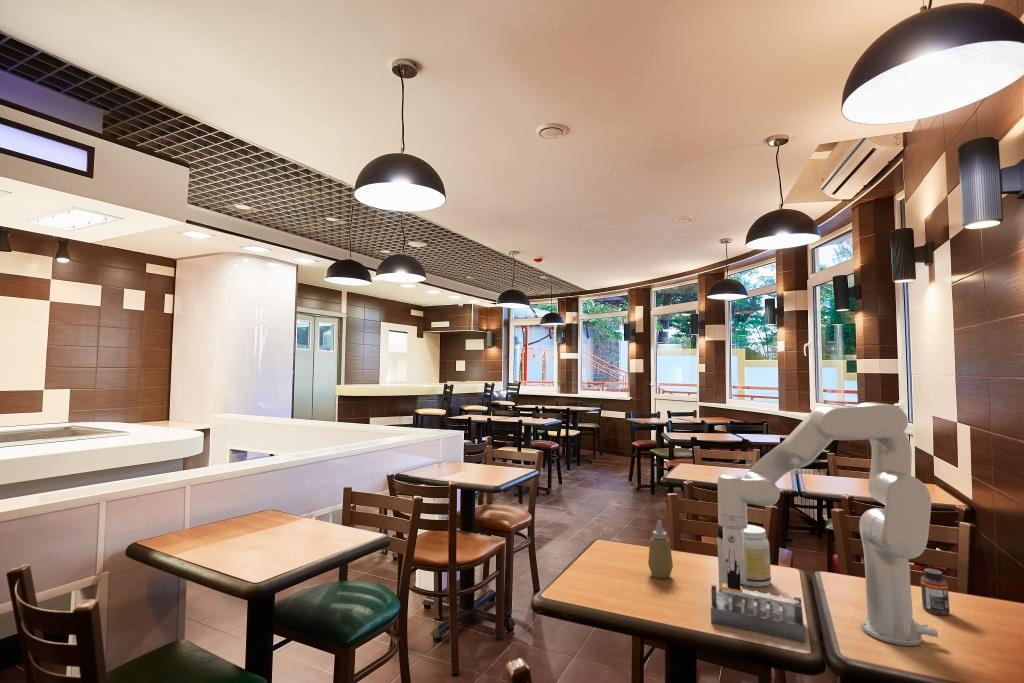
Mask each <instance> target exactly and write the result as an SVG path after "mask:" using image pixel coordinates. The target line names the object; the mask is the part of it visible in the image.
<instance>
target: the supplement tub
mask: <svg viewBox="0 0 1024 683" xmlns="http://www.w3.org/2000/svg"><path fill="white" fill-rule="evenodd" d="M744 542H745V562H744V565H743V566H742V567H741V565H740V581H741V585H744V586H746V587H747V586H748V587H755V588H761V587H767V586H768V585H770V584H771V581H772V575H771V574H772V573H771V556H770V554H771V553H770V541H769V540H768V538H767V534H766V529H765V528H763V527H762V526H758V525H754V524H748V523H747V528H745V529H744Z"/></svg>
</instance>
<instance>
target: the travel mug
mask: <svg viewBox="0 0 1024 683" xmlns="http://www.w3.org/2000/svg"><path fill="white" fill-rule="evenodd" d="M716 532H717V565H718V566H717V567H718V568H717V569H718V592H722V584H723V583H726V584H728V582H727V572H728V563H727V564H726V563H725V562H724V551H723V526H719V527H717V530H716ZM739 573H740V565H739ZM740 585H742V584H741V581H740ZM722 593H725V592H722ZM727 594H730V593H727ZM738 596H739V595H738Z"/></svg>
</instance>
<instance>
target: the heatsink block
mask: <svg viewBox="0 0 1024 683" xmlns="http://www.w3.org/2000/svg"><path fill="white" fill-rule="evenodd" d="M742 589H745V590H748V589H747V588H744V587H742ZM754 591H755V592H759V590H754ZM710 593H711V595H710V596H711V606H710V623H711V624H715V625H719V626H725V627H728V628H732V629H736V630H737V629H738V630H742V631H746V632H752V633H756V634H761V635H766V636H771V637H774V638H779V639H784V640H788V641H794V642H798V643H802V644H805V643H806V642H805V625H804V614H803V606H802V598H801V597H796V596H794V597H793V599H794V600H797V599H798V600H800V604H801V605H796V604H795V607H792V606H787V605H782V604H777V603H773V602H768V601H763V600H758V599H753V598H749V597H744V596H738V595H734V594H727V593H722V592H720V591H717V585H716V584H711V592H710ZM766 594H769V595H771V592H767V593H766ZM778 596H779V597H783V594H778Z"/></svg>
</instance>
